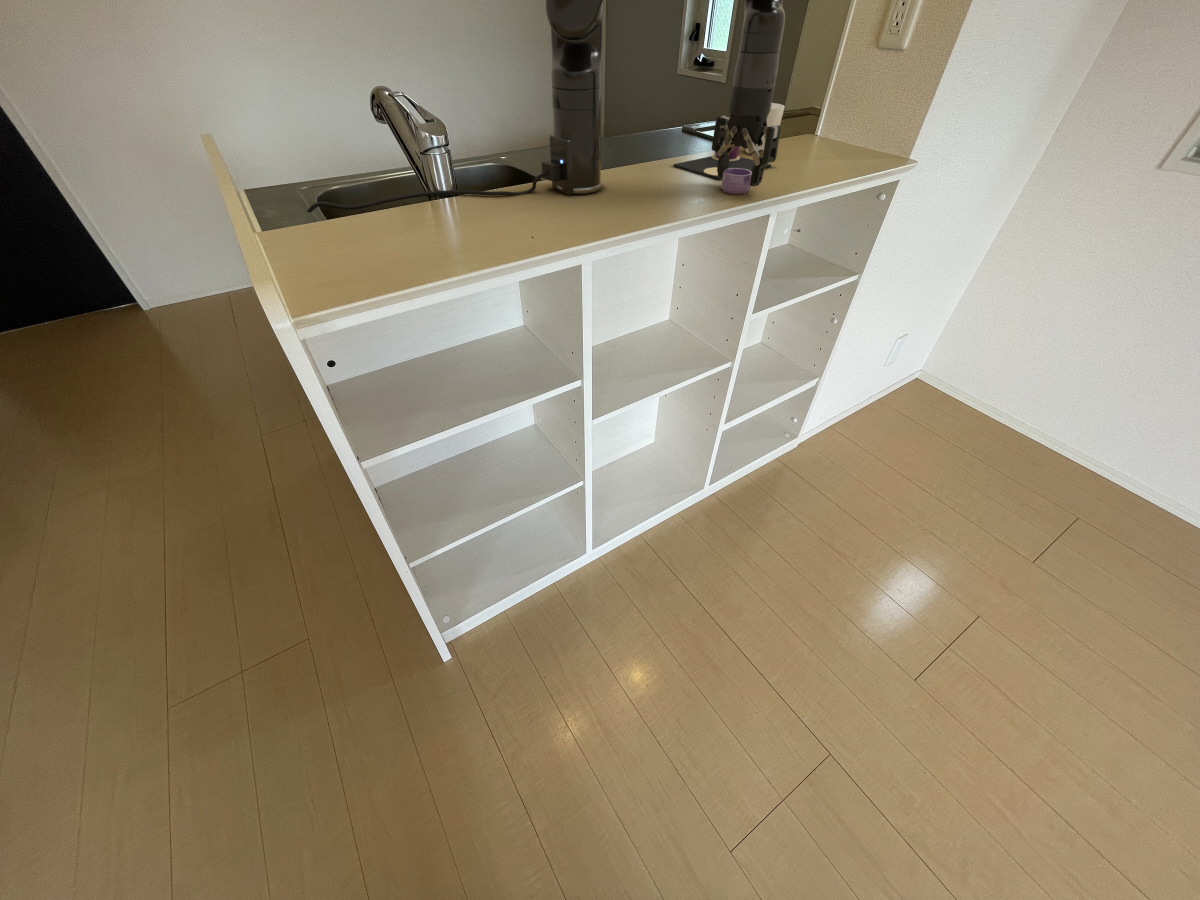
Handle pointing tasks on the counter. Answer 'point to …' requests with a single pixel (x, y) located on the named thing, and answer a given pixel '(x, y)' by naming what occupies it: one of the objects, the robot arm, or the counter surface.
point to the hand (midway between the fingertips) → (738, 180)
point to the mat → (715, 165)
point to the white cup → (773, 117)
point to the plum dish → (731, 153)
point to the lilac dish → (736, 180)
